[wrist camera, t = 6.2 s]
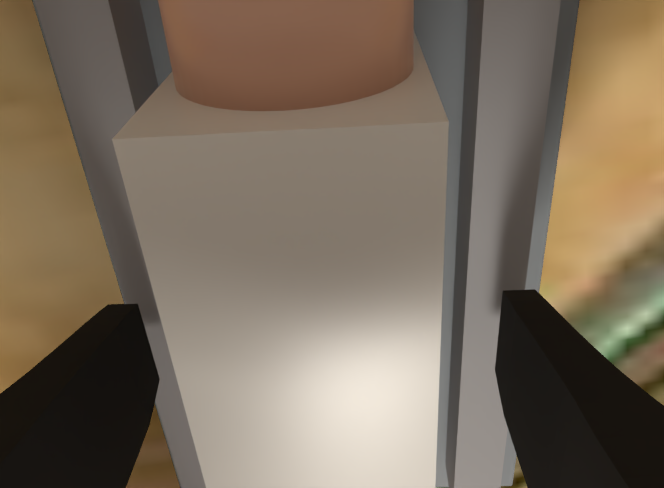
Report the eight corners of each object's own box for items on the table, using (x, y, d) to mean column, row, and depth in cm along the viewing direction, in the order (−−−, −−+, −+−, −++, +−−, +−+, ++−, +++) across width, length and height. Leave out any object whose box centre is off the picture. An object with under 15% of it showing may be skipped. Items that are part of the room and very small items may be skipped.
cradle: (505, 457, 19) (524, 532, 17) (189, 464, 20) (169, 537, 17) (580, -155, 11) (638, -161, 8) (25, -112, 11) (-51, -107, 9)
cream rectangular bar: (410, 433, 17) (430, 621, 13) (269, 436, 17) (242, 622, 13) (413, -97, 10) (455, -72, 6) (180, -80, 10) (63, -44, 6)
